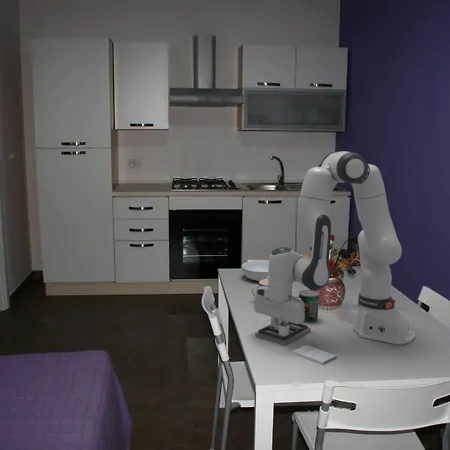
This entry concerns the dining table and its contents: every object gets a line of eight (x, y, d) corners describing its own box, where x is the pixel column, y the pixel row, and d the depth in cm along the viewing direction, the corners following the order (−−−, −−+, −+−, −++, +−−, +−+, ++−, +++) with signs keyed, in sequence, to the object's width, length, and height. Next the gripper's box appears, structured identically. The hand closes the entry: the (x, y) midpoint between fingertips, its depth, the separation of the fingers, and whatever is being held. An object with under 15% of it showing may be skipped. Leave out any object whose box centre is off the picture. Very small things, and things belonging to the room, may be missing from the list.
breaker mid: (280, 327, 214) (281, 315, 213) (275, 329, 212) (276, 317, 211) (275, 325, 215) (275, 313, 214) (270, 327, 213) (271, 315, 212)
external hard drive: (322, 366, 186) (292, 354, 195) (336, 359, 192) (307, 348, 200) (322, 362, 186) (292, 350, 194) (337, 355, 191) (307, 344, 200)
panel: (310, 331, 214) (311, 325, 214) (284, 346, 201) (284, 339, 200) (281, 323, 222) (282, 317, 222) (254, 336, 209) (255, 330, 208)
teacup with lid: (277, 299, 252) (278, 273, 250) (279, 306, 243) (280, 279, 241) (250, 298, 252) (251, 273, 250) (251, 305, 243) (252, 279, 241)
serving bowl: (237, 274, 292) (237, 261, 290) (277, 272, 296) (277, 260, 294) (246, 285, 272) (246, 271, 270) (288, 284, 275) (289, 270, 274)
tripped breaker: (288, 336, 205) (289, 323, 204) (284, 338, 203) (284, 325, 202) (283, 334, 207) (283, 322, 206) (278, 337, 204) (279, 324, 203)
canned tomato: (320, 318, 229) (322, 292, 227) (312, 324, 222) (313, 297, 220) (302, 314, 233) (304, 288, 231) (294, 320, 227) (295, 293, 225)
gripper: (309, 297, 199) (307, 334, 202) (262, 285, 212) (260, 320, 215) (299, 301, 195) (297, 339, 197) (251, 288, 208) (250, 324, 210)
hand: (277, 329), depth 206 cm, fingers closed
